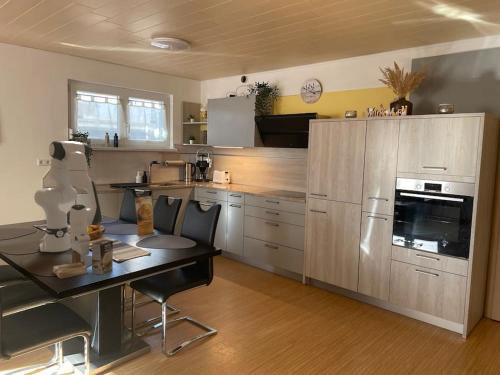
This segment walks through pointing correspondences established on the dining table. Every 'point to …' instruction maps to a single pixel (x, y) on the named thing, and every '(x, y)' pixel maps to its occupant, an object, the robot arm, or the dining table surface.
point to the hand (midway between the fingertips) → (79, 259)
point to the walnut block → (76, 258)
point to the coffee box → (102, 256)
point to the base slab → (69, 270)
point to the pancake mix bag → (144, 215)
